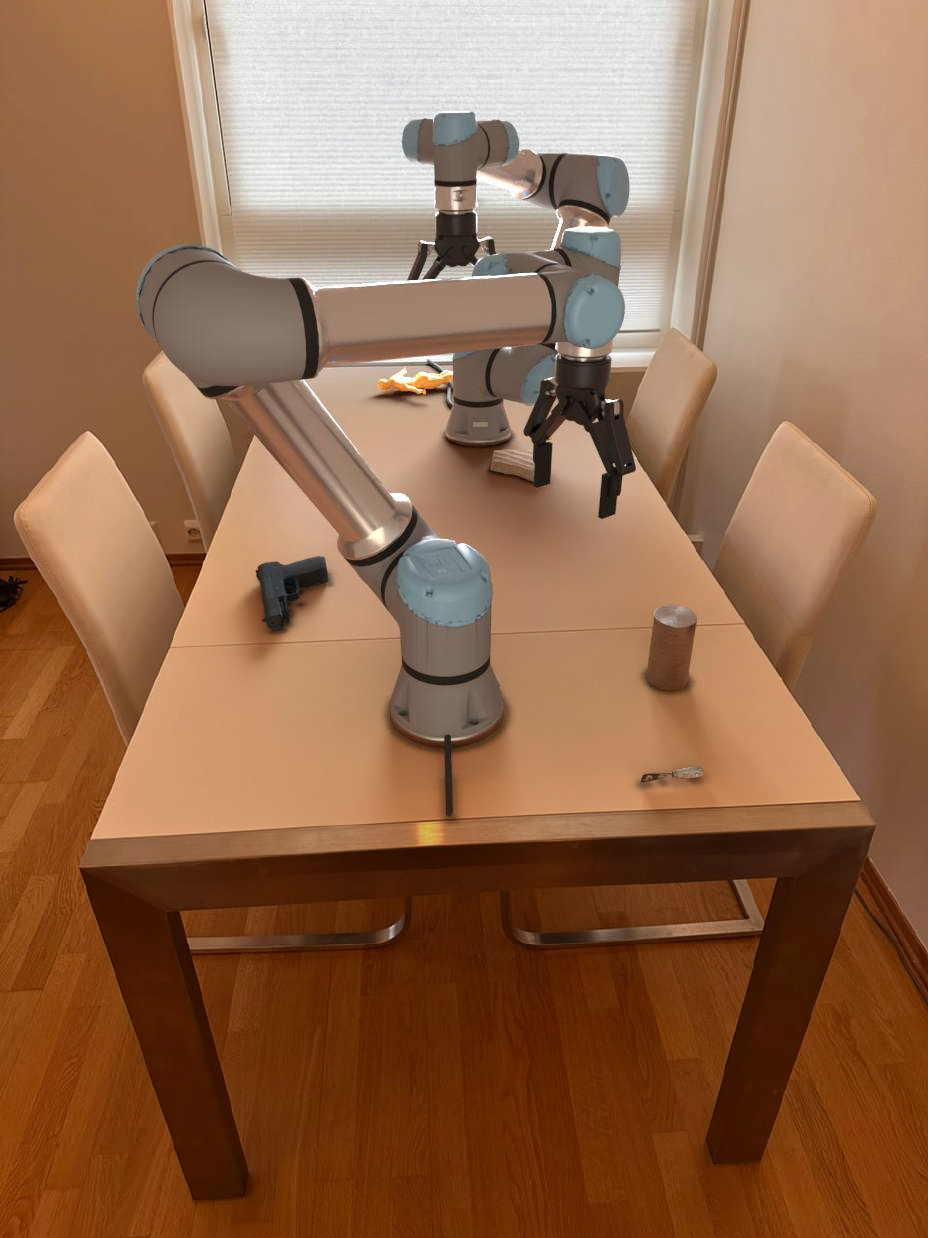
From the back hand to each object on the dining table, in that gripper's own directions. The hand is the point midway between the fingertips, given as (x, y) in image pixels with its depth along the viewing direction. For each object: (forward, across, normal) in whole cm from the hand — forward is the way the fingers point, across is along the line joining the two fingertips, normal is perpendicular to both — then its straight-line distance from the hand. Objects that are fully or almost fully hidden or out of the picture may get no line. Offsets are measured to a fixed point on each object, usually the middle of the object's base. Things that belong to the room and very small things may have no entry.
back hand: (457, 331), depth 171 cm
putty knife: (+30, +1, -96) cm, 100 cm away
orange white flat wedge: (+32, +7, +63) cm, 71 cm away
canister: (+31, +10, -76) cm, 83 cm away
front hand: (+10, +2, -57) cm, 58 cm away
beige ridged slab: (+31, +14, +2) cm, 34 cm away
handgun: (+30, -39, -39) cm, 63 cm away
